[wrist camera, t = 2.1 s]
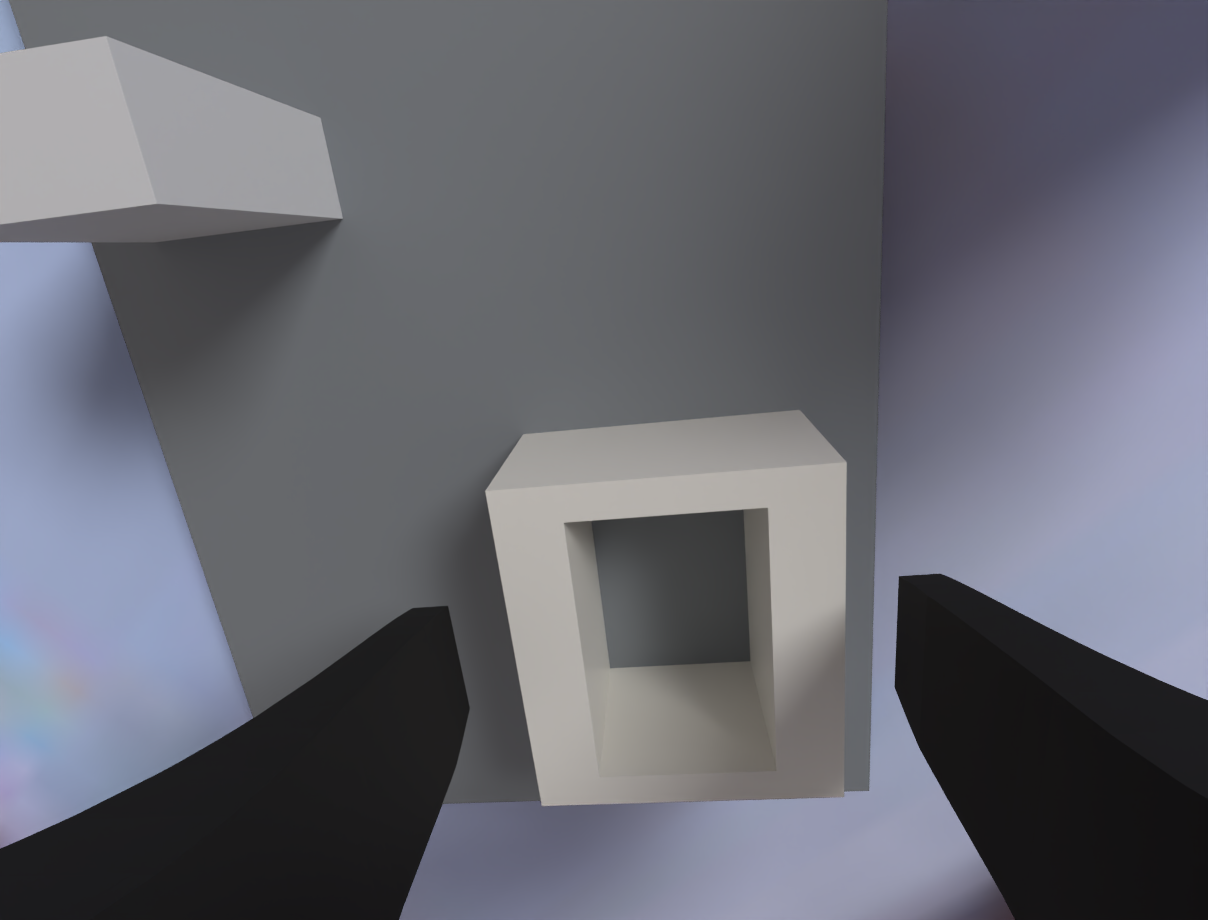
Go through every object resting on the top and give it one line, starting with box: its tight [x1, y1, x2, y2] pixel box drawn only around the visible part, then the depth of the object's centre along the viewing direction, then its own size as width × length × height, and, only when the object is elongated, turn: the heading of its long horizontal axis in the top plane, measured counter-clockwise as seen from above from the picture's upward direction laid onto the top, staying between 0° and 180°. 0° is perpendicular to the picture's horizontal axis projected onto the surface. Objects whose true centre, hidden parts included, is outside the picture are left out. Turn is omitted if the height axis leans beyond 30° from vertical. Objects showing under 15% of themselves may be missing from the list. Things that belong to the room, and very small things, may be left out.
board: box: [0, 0, 888, 804], centre depth 10 cm, size 20×14×6 cm
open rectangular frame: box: [485, 410, 847, 806], centre depth 12 cm, size 5×6×3 cm
